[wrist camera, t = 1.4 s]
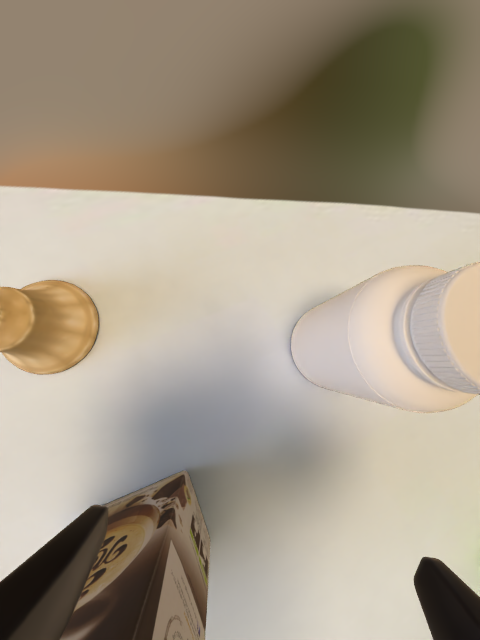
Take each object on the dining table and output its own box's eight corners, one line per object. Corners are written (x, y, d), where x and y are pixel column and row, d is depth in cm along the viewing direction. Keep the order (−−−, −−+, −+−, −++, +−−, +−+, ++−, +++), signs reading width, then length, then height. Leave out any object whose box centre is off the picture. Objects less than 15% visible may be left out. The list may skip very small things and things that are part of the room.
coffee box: (186, 465, 21) (99, 778, 6) (212, 541, 21) (196, 1144, 5) (78, 512, 20) (-432, 1089, 4) (102, 595, 20) (-395, 1632, 4)
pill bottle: (364, 305, 25) (576, 232, 10) (370, 387, 24) (620, 438, 9) (287, 304, 24) (395, 224, 10) (289, 389, 23) (418, 447, 8)
